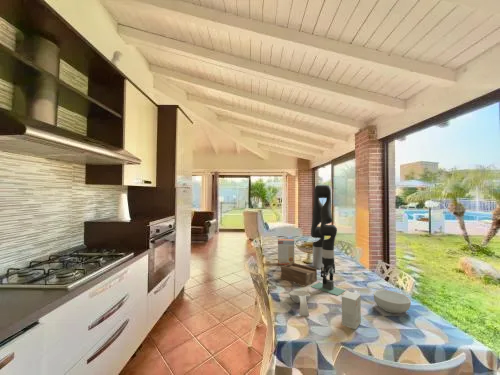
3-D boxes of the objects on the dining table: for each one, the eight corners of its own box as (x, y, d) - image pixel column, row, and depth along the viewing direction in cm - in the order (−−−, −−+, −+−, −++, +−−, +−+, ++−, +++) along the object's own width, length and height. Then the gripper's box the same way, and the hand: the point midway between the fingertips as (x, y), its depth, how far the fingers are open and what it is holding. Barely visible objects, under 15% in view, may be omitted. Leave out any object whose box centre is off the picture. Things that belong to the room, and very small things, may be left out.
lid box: (292, 273, 178) (292, 262, 179) (316, 281, 164) (316, 268, 164) (281, 278, 169) (281, 266, 169) (305, 286, 154) (305, 273, 154)
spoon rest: (287, 295, 141) (287, 283, 141) (307, 296, 140) (307, 284, 140) (292, 316, 117) (292, 301, 117) (317, 317, 116) (317, 302, 117)
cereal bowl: (411, 321, 113) (411, 306, 113) (372, 312, 121) (372, 298, 122) (410, 307, 127) (409, 293, 127) (375, 299, 136) (374, 287, 136)
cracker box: (293, 263, 206) (294, 239, 207) (294, 265, 200) (294, 240, 201) (277, 262, 207) (277, 238, 208) (277, 264, 201) (277, 239, 202)
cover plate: (319, 283, 161) (319, 274, 161) (345, 291, 148) (345, 282, 148) (311, 287, 154) (311, 278, 154) (337, 296, 141) (337, 286, 141)
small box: (347, 317, 115) (347, 290, 116) (361, 322, 111) (361, 294, 112) (341, 324, 109) (341, 296, 110) (355, 330, 105) (355, 300, 106)
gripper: (327, 253, 159) (327, 277, 158) (317, 257, 149) (316, 283, 148) (338, 255, 153) (338, 280, 153) (328, 259, 144) (328, 286, 143)
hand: (328, 282), depth 151 cm, fingers open, 8 cm apart
